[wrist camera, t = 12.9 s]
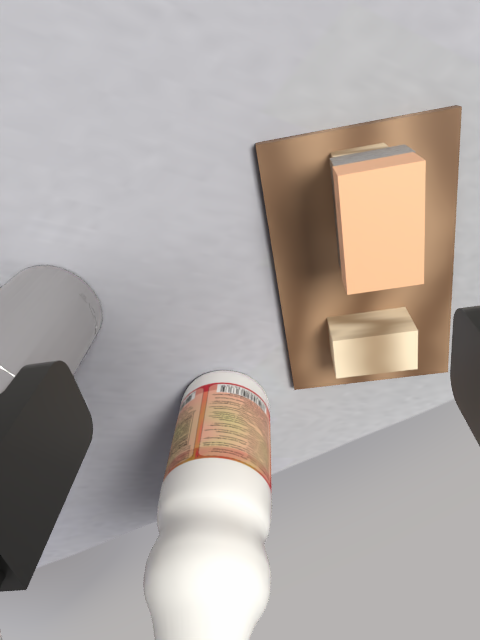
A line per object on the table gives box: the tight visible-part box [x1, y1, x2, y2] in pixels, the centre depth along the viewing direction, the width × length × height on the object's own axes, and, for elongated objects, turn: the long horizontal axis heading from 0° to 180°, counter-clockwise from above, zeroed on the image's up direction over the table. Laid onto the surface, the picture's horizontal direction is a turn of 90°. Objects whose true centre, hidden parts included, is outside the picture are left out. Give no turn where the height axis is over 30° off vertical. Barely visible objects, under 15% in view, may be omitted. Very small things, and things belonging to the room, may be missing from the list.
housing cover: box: [332, 152, 426, 295], centre depth 30 cm, size 8×5×2 cm, turn 11°
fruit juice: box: [143, 370, 272, 640], centre depth 37 cm, size 9×9×28 cm
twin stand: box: [256, 105, 462, 390], centre depth 39 cm, size 15×24×5 cm, turn 10°
